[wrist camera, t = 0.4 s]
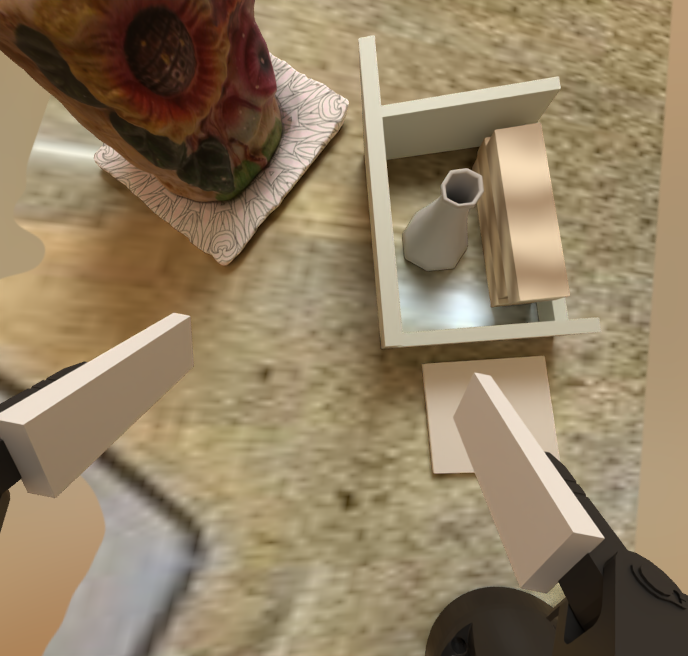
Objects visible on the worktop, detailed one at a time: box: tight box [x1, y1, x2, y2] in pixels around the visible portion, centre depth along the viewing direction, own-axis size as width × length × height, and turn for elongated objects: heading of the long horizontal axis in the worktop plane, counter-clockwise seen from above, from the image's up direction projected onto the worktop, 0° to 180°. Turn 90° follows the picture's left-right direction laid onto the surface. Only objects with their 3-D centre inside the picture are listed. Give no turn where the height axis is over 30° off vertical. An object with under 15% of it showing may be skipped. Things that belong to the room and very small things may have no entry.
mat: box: [422, 356, 560, 473], centre depth 28 cm, size 11×12×1 cm
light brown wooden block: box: [472, 123, 570, 307], centre depth 27 cm, size 17×4×6 cm, turn 5°
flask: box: [402, 168, 484, 271], centre depth 26 cm, size 7×7×10 cm
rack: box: [359, 35, 601, 349], centre depth 24 cm, size 23×18×12 cm
